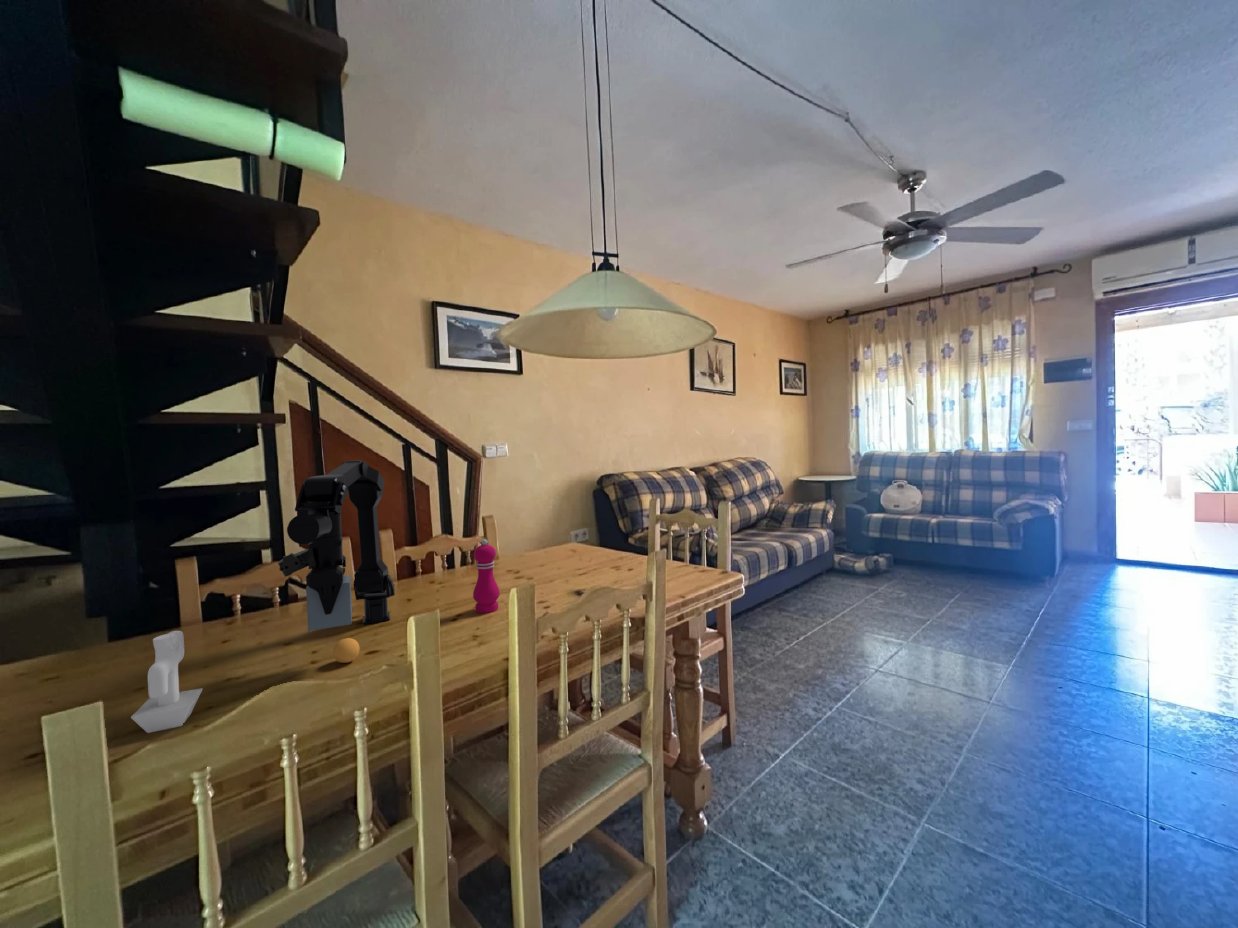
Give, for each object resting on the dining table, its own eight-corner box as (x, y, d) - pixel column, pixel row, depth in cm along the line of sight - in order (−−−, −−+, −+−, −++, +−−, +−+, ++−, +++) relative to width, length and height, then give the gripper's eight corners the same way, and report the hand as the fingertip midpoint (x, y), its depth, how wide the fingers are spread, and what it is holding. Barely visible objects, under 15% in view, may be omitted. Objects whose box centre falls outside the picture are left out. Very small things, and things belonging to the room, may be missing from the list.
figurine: (128, 743, 78) (123, 648, 77) (153, 715, 86) (149, 630, 86) (187, 731, 81) (182, 640, 80) (206, 705, 89) (201, 622, 89)
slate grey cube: (311, 620, 107) (309, 579, 107) (352, 613, 111) (350, 574, 110) (308, 631, 100) (306, 588, 100) (351, 624, 104) (349, 582, 103)
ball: (350, 630, 109) (363, 647, 110) (328, 645, 107) (341, 663, 108) (351, 637, 105) (364, 655, 106) (327, 653, 103) (341, 671, 104)
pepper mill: (493, 614, 136) (490, 541, 135) (468, 613, 137) (466, 541, 137) (504, 606, 143) (501, 537, 142) (481, 605, 144) (478, 537, 144)
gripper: (287, 533, 110) (290, 603, 110) (272, 547, 93) (276, 629, 93) (344, 528, 115) (347, 595, 115) (340, 540, 98) (344, 618, 98)
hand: (329, 608), depth 105 cm, fingers closed on slate grey cube, 8 cm apart
